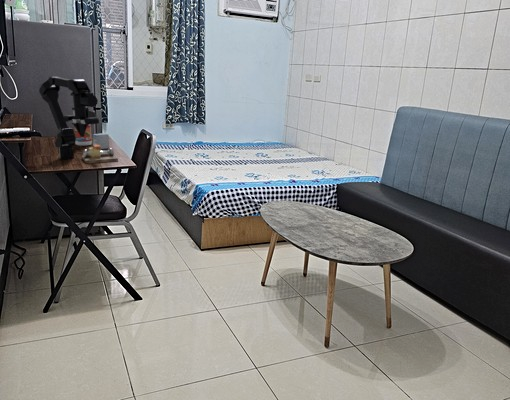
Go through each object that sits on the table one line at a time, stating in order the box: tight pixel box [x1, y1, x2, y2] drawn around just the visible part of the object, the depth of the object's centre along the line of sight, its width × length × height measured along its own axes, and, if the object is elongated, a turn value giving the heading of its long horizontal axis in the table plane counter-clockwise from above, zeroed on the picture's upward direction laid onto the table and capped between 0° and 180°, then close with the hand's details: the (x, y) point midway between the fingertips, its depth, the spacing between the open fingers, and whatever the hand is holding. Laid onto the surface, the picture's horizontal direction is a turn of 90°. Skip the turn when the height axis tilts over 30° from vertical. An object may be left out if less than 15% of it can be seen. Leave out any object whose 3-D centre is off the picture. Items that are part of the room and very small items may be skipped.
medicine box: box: [92, 132, 110, 150], centre depth 260 cm, size 8×4×9 cm, turn 141°
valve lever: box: [90, 142, 102, 151], centre depth 227 cm, size 11×3×2 cm, turn 30°
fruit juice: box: [72, 111, 93, 146], centre depth 268 cm, size 9×9×28 cm
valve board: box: [81, 146, 119, 164], centre depth 231 cm, size 16×13×7 cm
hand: (82, 136), depth 223 cm, fingers closed
